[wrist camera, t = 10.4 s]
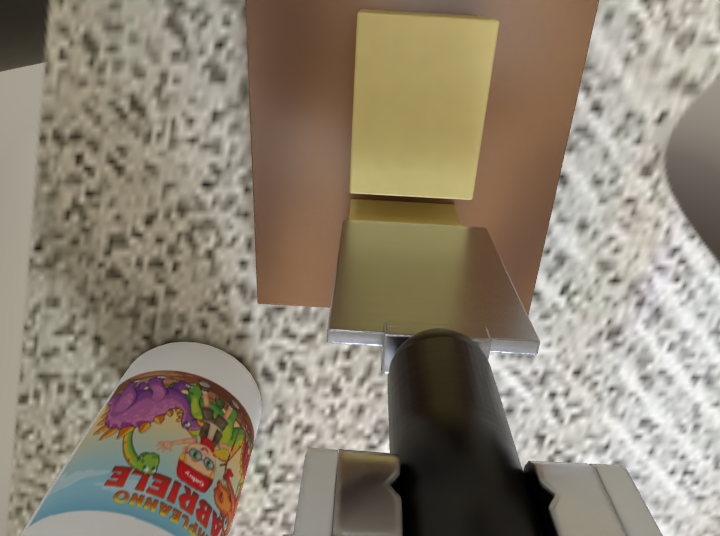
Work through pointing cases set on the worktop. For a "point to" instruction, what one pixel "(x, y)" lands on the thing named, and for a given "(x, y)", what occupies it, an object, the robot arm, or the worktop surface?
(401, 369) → the knife
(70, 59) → the worktop surface
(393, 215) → the butter slice
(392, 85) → the butter block
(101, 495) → the milk bottle
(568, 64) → the board
